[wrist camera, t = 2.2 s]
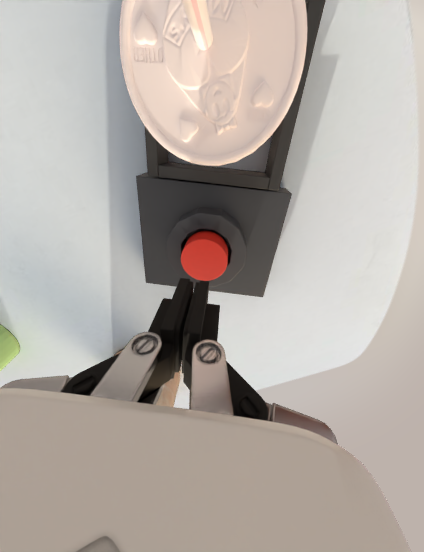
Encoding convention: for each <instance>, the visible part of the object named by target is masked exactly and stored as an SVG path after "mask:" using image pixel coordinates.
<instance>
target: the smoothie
mask: <svg viewBox="0 0 424 552" xmlns="http://www.w3.org/2000/svg"><path fill="white" fill-rule="evenodd" d="M119 41H120V55H121V63H122V69H123V74H124V78H125V82H126V86H127V89H128V92H129V95H130V98H131V100H132V103H133V105H134V107H135V109H136V111H137V113H138V115H139V117H140V119H141V121H142V122H143V124H144V125H145V127H146V128H147V130H148V131H149V132H150V133H151V135H152V136H153V137H154V138H155V139H156V140H157V141H158V142H159V143H160V144H161V145H162V146H163V147H164V148H165V149H167V150H168V151H169V152H171V153H172V154H174V155H175V156H177V157H179V158H181V159H183V160H185V161H188V162H191V163H194V164H198V165H205V166H220V165H225V164H229V163H234V162H237V161H239V160H241V159H242V158H244V157H246V156H248V155H250V154H252V153H253V152H255V151H256V150H257V149H258V148H259V147H260V146H261V145H262V144H264V143H265V142H266V141H267V140H268V139H269V138H270V137H271V135H272V134H273V133H274V132H275V130H276V129H277V128H278V126H279V125H280V123H281V122H282V120H283V119H284V117H285V115H286V114H287V112H288V110H289V108H290V106H291V104H292V102H293V99H294V97H295V94H296V92H297V89H298V86H299V82H300V79H301V75H302V71H303V67H304V61H305V55H306V46H307V12H306V3H305V0H123V1H122V6H121V14H120V29H119Z"/></svg>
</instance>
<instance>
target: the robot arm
mask: <svg viewBox="0 0 424 552" xmlns="http://www.w3.org/2000/svg"><path fill="white" fill-rule="evenodd" d="M208 292H209V281H203V280H200V283H199V282H196V285H195V288H194V292H193V282H191V281H190V279H187V278H180V280H179V283H178V285H177V288H176V290H175V293H174V295H173V298H172V299H166V298H164V299H163V300H162V302H161V304H160V307H159V309H158V311H157V313H156V315H155V318H154V320H153V322H152V324H151V326H150V329H149V331H148V332H142V333H140V334H137V335H136V336H134V337H133V338H132V339H131V340H130V341H129V343H128V344H127V345H126V347H125V348H124V349H123V351H122V352H121V353H119V354H117V355H115V356H113V357H111V358H109V359H107V360H105V361H103V362H101V363H99V364H97V365H95V366H93V367H91V368H89V369H87V370H84V371H82V372H80V373H79V374H77V375H75V376H74V377H71V378H69V376H68V375H66V376H54V377H42V378H31V379H20V380H15V381H12V382H10V383H7V384H5V385H4V386H2V387H1V388H0V552H411V550H410V547H409V545H408V543H407V541H406V539H405V537H404V535H403V532H402V530H401V528H400V526H399V524H398V522H397V520H396V518H395V516H394V514H393V512H392V510H391V508H390V506H389V504H388V502H387V500H386V498H385V497H384V495H383V493H382V491H381V489H380V487H379V486H378V484H377V483H376V481H375V479H374V478H373V476H372V475H371V474H370V473H369V472H368V470H367V469H366V467H365V466H364V465H363V464H362V463H361V462H360V461H359V460H358V459H356V458H355V457H354V456H353V455H352V454H350V453H349V452H348V451H346V450H345V449H344V448H342V447H340V446H339V445H338V443H337V440H336V437H335V435H334V433H333V432H332V430H331V429H330V428H329V427H328V426H327V425H326V424H325V423H323V422H321V421H320V420H318V419H315V418H312V417H310V416H307V415H304V414H302V413H299V412H296V411H294V410H291V409H288V408H286V407H283V406H280V405H278V404H275V403H273V404H272V405H271V404H268V403H266V402H265V401H264V400H263V399H262V397H261V396H260V395H259V394H258V393H257V392H256V391H255V390H254V389H253V388H252V387H251V386H250V385H249V384H248V383H247V382H246V381H245V380H244V379H243V378H242V377H241V376H240V375H239V374H238V373H237V372H236V371H235V370H234V369H233V368H232V367H231V365H230V364H229V363H228V362H227V361H226V357H225V351H224V348H223V347H222V346H221V344H219V343H218V342H217V336H218V323H219V310H220V305H214V304H207V302H208ZM181 362H182V373H184V383H185V384H186V386H187V387H188V388H189V390H190V401H189V409H182V408H175V407H167V406H160V405H156V403H157V401H158V399H159V397H160V394H161V392H162V390H163V387H164V384H165V383H166V382H168V381H170V379H174V375H175V372H177V373H179V370H180V366H181Z"/></svg>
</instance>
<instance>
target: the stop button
mask: <svg viewBox="0 0 424 552" xmlns="http://www.w3.org/2000/svg"><path fill="white" fill-rule="evenodd" d="M227 262H228V248H227V244H226V242H225V241H224V239H223V238H222V237H221V236H219V235H218V234H216V233H214V232H210V231H201V232H197V233H195V234H193V235H192V236H191V237H190V238H189V239H188V241H187V242H186V244H185V247H184V249H183V251H182V254H181V263H182V266H183V268H184V270H185V271H186V272H187V273H188V274H189V275H190V276H191V277H193V278H195V279H198V280H203V281H209V280H213V279H216V278H218V277H219V276H221V275H222V274H223V273H224V271H225V270H226V267H227Z"/></svg>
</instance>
